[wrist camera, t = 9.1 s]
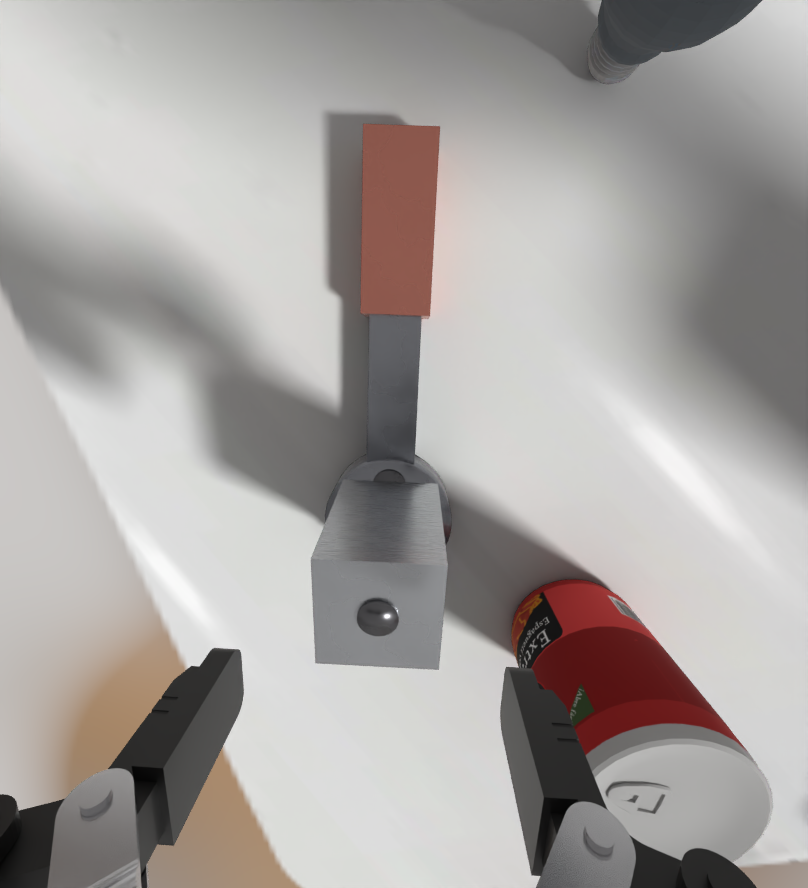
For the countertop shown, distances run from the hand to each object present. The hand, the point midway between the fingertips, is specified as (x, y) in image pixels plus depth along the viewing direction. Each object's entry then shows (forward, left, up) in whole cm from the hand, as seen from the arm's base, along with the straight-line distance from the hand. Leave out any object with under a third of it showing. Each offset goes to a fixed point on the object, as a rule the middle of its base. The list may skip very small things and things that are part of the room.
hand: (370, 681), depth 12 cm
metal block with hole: (0, 0, -10) cm, 10 cm away
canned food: (-12, +8, -13) cm, 20 cm away
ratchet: (0, -8, -13) cm, 15 cm away
